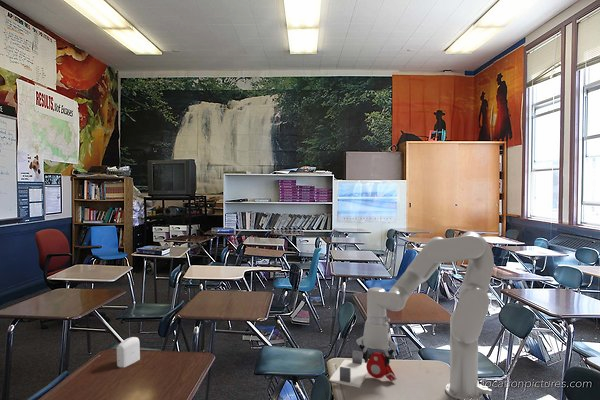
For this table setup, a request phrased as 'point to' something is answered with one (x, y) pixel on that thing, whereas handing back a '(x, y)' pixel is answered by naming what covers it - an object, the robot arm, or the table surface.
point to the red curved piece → (379, 367)
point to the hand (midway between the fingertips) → (376, 363)
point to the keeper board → (351, 371)
